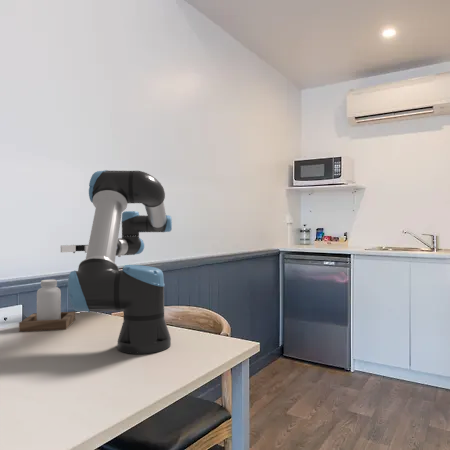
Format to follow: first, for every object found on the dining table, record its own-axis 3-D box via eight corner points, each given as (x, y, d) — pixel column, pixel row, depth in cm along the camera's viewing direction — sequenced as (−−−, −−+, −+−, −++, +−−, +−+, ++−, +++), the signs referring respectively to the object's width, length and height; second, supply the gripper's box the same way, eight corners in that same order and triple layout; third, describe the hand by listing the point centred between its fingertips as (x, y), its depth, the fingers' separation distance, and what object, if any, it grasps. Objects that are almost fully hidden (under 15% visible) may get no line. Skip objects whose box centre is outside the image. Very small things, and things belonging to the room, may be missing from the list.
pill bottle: (55, 324, 141) (54, 281, 141) (32, 325, 141) (32, 282, 141) (64, 319, 149) (64, 278, 149) (43, 319, 149) (42, 279, 149)
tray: (66, 329, 138) (65, 320, 138) (19, 331, 136) (19, 322, 136) (75, 319, 153) (75, 311, 153) (33, 321, 151) (33, 313, 151)
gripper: (136, 256, 166) (96, 259, 147) (93, 255, 178) (51, 258, 160) (136, 238, 166) (96, 238, 147) (93, 238, 178) (51, 239, 160)
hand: (72, 249), depth 154 cm, fingers open, 13 cm apart
